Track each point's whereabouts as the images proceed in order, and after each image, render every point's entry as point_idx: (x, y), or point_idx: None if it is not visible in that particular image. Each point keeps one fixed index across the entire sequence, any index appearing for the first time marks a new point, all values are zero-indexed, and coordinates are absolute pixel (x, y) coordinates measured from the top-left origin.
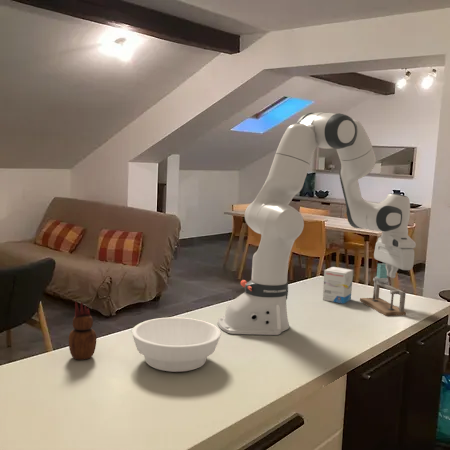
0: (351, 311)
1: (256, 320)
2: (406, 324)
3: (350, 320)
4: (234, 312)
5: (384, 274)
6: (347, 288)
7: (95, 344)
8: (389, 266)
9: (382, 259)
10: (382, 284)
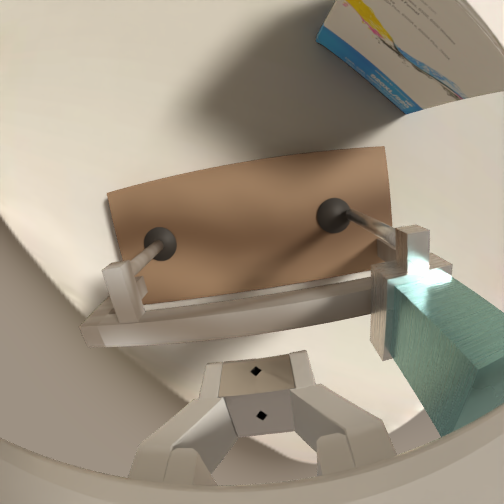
0: (179, 40)
1: None
2: (33, 243)
3: (65, 32)
4: None
5: (407, 347)
6: (375, 33)
7: None
8: (317, 460)
9: (488, 457)
10: (356, 287)
